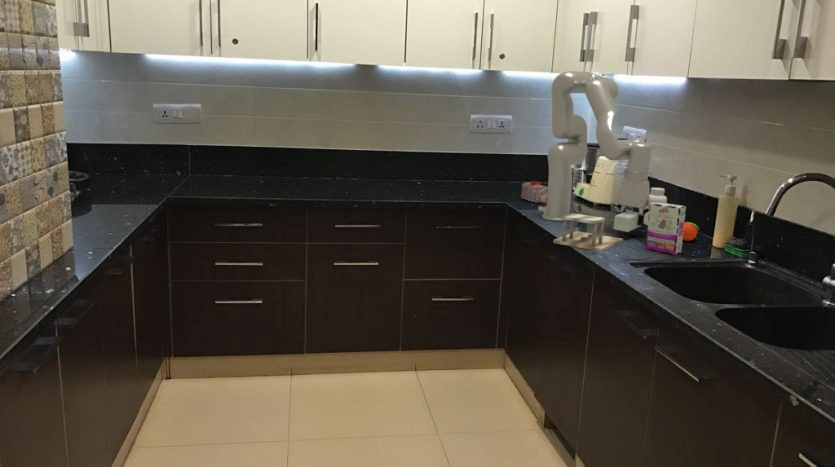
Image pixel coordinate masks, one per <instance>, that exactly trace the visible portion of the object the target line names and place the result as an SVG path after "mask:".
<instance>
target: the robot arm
mask: <svg viewBox="0 0 835 467" xmlns="http://www.w3.org/2000/svg"><path fill="white" fill-rule="evenodd" d="M550 89H551V90H550V93H551V133H552V135H553V137H554V138H556V139H560V140H566V139H567V141H563V142H557V143H554V144H552V145H551V146H550V147H549V148H548V152H547V161H548V162H547V163H548V181H547V183H548V184H547V187H548V193H547V194H548V195H547V199H546V206H538V212H543V214H542V219H544V220H548V221H553V222H555V221H556V222H564V219H563V216H566V215H569V214H571V212H570V211H571V197H572V186H573V173H572V170H571V166H573V165H574V166H575V165H580V164H582V163H583V162H584V161H585V160H586V157H587V153H588V124H587V122H586V120H585V118H584V117H582V116H581V115H577V114H574V101H573V98H572V96H571V95H572V94H585V96H586V98H587V101H588V103H589V105H590V107H591V110H592V112H593V115H594V117H595V119H596V122H597V124H596V129H595V130H596V131H595V132H596V133H595V136H596V141H597V143H598V146H599V148H600V151H601V152H602V155H603V156H604V157H605V158H606V159H607V160H609V161H612V162H613V161H615V162H616V161H624V160H625V161H626V160H628V163H627V170H626V171H623V172H622V174H623V175H624V176H625V178H623V181H622V183H621V184H622V185H621V188H620V193H619V196H617V197H616V198H615V199H614V200H613V203H614V204H615V205H616V206H617V208H618V209H619V212H620V214H621V213H623V212H626V211H627V208H628V207H632V208H638V210H639V212H638V213H640V215H639V216H638V223H637V225H638V226H639V227H641V226H640V225H642V224H644V214H646V213H647V212H649V207H650V203H651V201H650V200H649V194H650V180H648V178H649V171H650V170H649V169H650V163H651V155H652V145H651V144H649V143H648V142H637V141H634V140H632V139H617V138H616V136H615V134H614V131H613V127H612V125H613V122H614V120H615V119H616V118H617V117H618V116H619V113H620V112H619V109H618V108H617V104H616V103H615V99H616V98H617V97H618V94H619V87H618V84H617V83H616V81H614V80H613V79H611V78H608V77H605V76H602V75H599V74H597V73H594V72H590V71H589V72H588V71H577V70H571V71H568V70H567V71H563V72H562V73H560V74H558V75H557V76H556V77H555V78H554V80H553V81H552V84H551V88H550ZM645 206H649V207H648V208H647V209H645ZM567 222H571V220H567Z"/></svg>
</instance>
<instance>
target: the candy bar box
mask: <svg viewBox="0 0 835 467" xmlns="http://www.w3.org/2000/svg"><path fill="white" fill-rule="evenodd" d="M686 211H687V206H686V205H680V204H673V203H668V202H667V203H660V202H653V203H650V207H649V217H648V225H647V228H646V229H647V230H646V240H645V250H648V251H649V250H650V251H654V252H659V253H663V254H664V253H665V254H668V255H674V256H675V255H679V254H682V249H683V241H684V240H683V232H684V222H685V221H686Z"/></svg>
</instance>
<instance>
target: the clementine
mask: <svg viewBox="0 0 835 467" xmlns="http://www.w3.org/2000/svg"><path fill="white" fill-rule="evenodd" d="M698 230H700V228H699V227H698V225H696V223H693V222H690V221H686V222H684V232H683V241H685V242H688V241H689V242H690V241H692V240H694V239H695V238H696V237H697V234H698Z"/></svg>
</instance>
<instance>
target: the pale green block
mask: <svg viewBox="0 0 835 467" xmlns="http://www.w3.org/2000/svg"><path fill="white" fill-rule="evenodd" d="M639 215H640V212H637V211H631V210H626V212H623V213H621V212H620V213H619V214H616V215H615V216H614V223H613V230H616V231H622V232H627V233H629V232H630V231H633V230H635V229H637V228H640V227H641V225H642V224H641V225H640V226H638V225H637V223H638V216H639Z"/></svg>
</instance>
